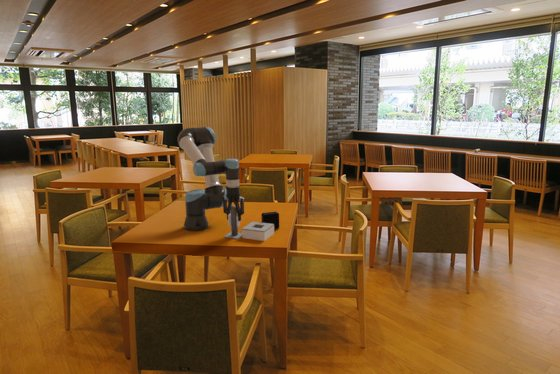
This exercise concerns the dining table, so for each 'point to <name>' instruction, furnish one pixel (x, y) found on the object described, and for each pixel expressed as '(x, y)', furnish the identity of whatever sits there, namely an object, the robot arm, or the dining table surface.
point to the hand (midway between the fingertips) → (234, 225)
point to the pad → (233, 236)
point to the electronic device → (271, 218)
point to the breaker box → (258, 231)
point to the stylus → (234, 221)
